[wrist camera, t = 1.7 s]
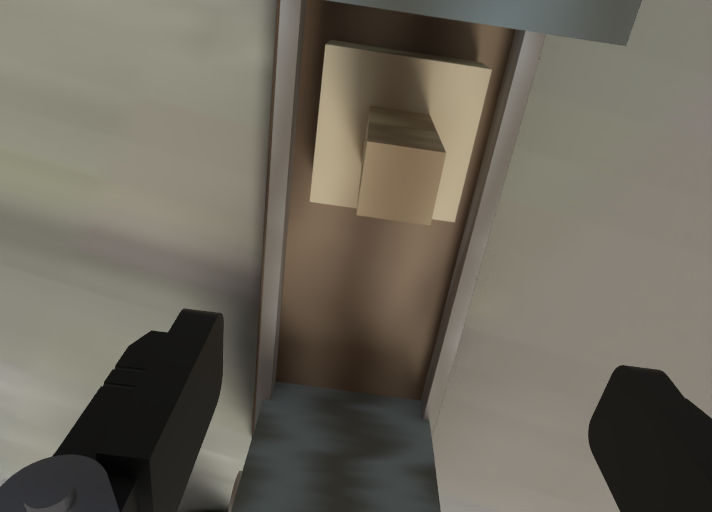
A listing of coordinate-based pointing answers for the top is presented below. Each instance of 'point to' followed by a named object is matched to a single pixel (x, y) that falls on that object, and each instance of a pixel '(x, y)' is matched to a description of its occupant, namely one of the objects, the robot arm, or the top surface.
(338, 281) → the rail track
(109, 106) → the top surface
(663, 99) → the top surface
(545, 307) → the top surface
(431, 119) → the carriage
